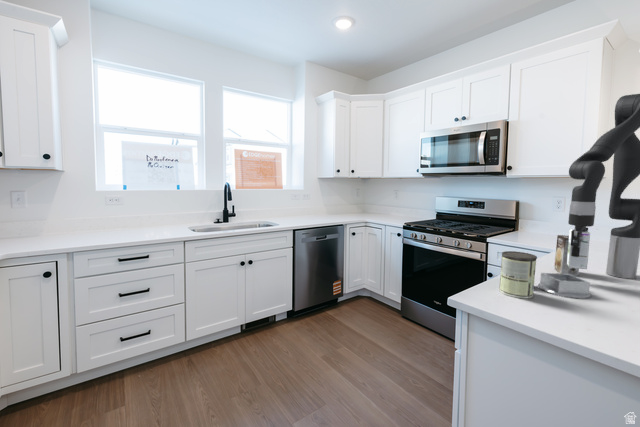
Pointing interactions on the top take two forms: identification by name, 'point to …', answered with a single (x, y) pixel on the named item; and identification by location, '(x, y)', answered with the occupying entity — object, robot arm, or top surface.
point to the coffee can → (517, 274)
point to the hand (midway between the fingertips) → (577, 254)
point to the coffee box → (563, 257)
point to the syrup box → (582, 260)
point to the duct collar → (564, 285)
